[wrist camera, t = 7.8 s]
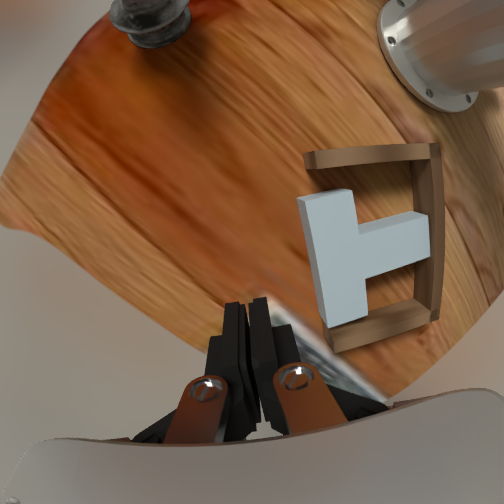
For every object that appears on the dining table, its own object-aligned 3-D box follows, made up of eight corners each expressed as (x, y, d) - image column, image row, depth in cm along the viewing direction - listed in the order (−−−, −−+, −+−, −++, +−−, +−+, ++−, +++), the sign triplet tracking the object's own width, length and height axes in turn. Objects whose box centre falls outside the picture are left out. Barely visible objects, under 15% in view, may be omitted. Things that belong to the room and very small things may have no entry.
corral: (323, 334, 25) (334, 353, 22) (302, 153, 20) (314, 150, 18) (422, 305, 25) (438, 319, 22) (418, 144, 21) (439, 143, 18)
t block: (319, 313, 24) (328, 328, 22) (296, 197, 21) (304, 201, 19) (415, 280, 24) (430, 290, 22) (405, 173, 21) (422, 175, 19)
